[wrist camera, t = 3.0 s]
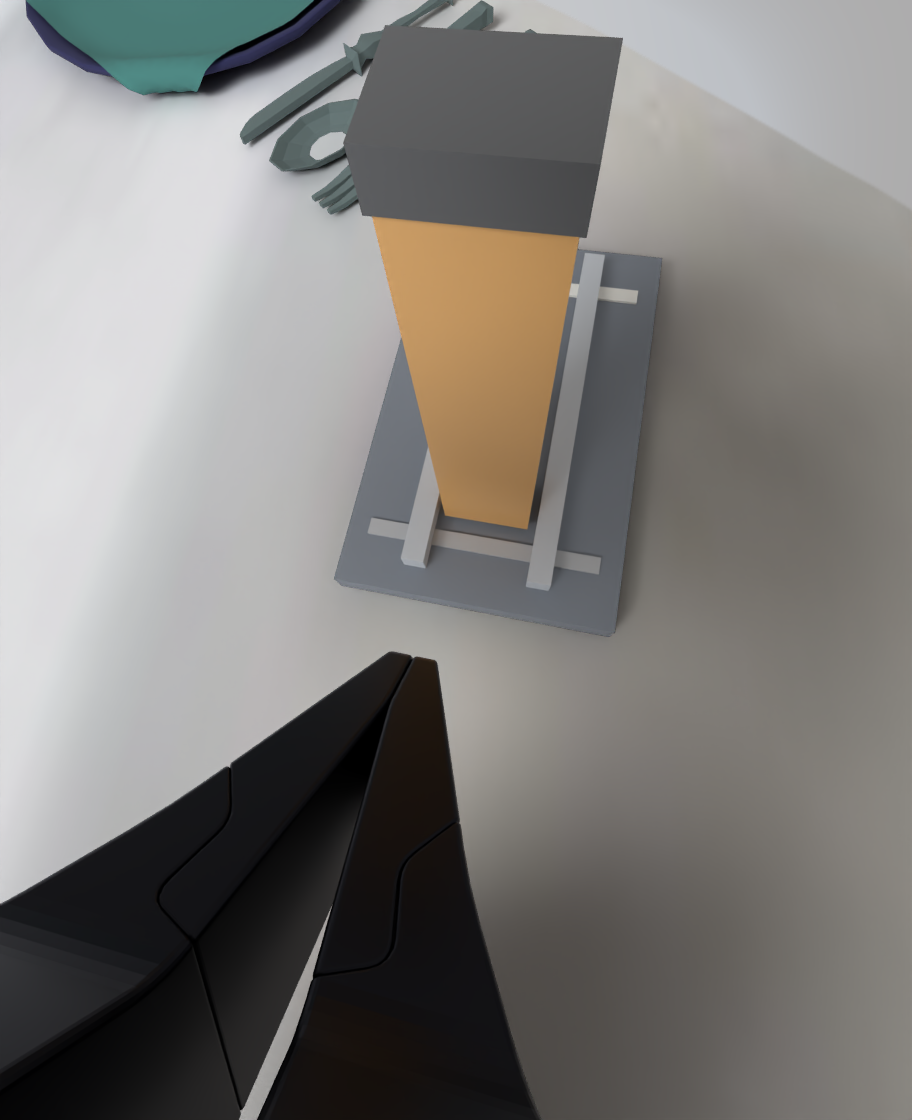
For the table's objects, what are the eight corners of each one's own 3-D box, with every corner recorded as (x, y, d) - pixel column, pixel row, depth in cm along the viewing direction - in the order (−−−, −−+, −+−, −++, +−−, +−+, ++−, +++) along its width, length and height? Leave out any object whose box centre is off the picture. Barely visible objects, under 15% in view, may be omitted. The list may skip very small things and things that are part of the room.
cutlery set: (244, -140, 36) (228, -197, 33) (572, 56, 28) (579, -1, 26) (-8, 11, 33) (-44, -40, 30) (282, 277, 25) (261, 234, 23)
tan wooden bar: (529, 532, 19) (600, 164, 6) (441, 517, 19) (343, 142, 7) (539, 476, 19) (622, 38, 7) (454, 463, 20) (385, 24, 7)
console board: (608, 636, 19) (620, 628, 17) (341, 585, 20) (327, 572, 18) (655, 277, 23) (668, 241, 21) (432, 253, 24) (428, 217, 22)
